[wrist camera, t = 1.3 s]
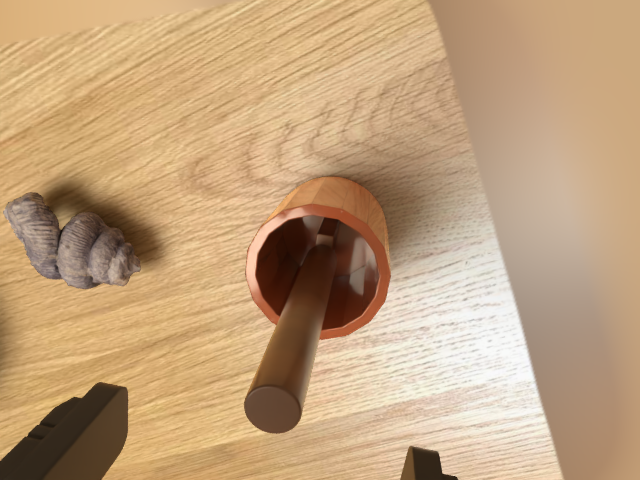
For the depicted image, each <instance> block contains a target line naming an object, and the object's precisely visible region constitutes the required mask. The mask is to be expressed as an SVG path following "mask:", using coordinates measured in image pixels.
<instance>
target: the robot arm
mask: <svg viewBox="0 0 640 480" xmlns="http://www.w3.org/2000/svg"><path fill="white" fill-rule="evenodd" d="M127 433H128V391H127V388H126V387H122V386H117V385H112V384H107V383H102V382H99V383H97V384H95V385H94V386H93V387H92V388H91V389H90V390H89V391H88V393H87V394H86V395H85V396H84V397H83V398H77V397H73V398H71V399H70V400H68V401H66V402H64V403H62V404H61V405H59V406H57V407H55V408H54V409H53V410H52V411H51V412H50V413H49V414H48V415H47V416H46V417H45V418H44V419H43V420H42V421H41V422H40V424H39V425H37V426H36V427H35V428H34V429H33V430H32V431H31V432H30V433H29V434H28V436H27V437H24V438H23V439H22V440H21V441H20V442H19V443H18V444H17V445H16V446H15V447H14V448H13V449H12V450H11V451H10V452H9V453H8V454H7V455H6V456H5V457H4V458H3V459H2V460H1V461H0V480H101V479H102V478H103V477H104V475H105V474H106V472H107V471H108V470H109V468H110V467H111V465H112V464H113V463H114V461H115V460H116V458H117V457H118V455H119V454H120V452H121V451H122V449H123V446H124V444H125V441H126V438H127ZM400 480H458V478H457V477H455V476H451V475H446V474H442V468H441V463H440V457H439V453H438V452H437V451H433V450H428V449H423V448H418V447H413V446H410V447H409V449H408V452H407V456H406V460H405V464H404V468H403V471H402V475H401V479H400Z"/></svg>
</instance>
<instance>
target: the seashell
mask: <svg viewBox="0 0 640 480" xmlns="http://www.w3.org/2000/svg"><path fill="white" fill-rule="evenodd" d="M3 212H4V215H5V217H6V219H8V220H9V223H10V224H11V228H12V229H13V230H14V233H15V235H16V236H17V237H18V238H19V240H20V241H21V242H22V243H23V244H24V247H25V250H26V251H27V254H26V255H27V256H28V257H29V259H30V261H31V265H32V266H34V267H35V269H36V270H37V272H38V273H40V274H41V275H42V276H44V277H46V278H49V279H63V280H65V281H66V282H67V284H68V286H73V287H76V288H81V289H90V288H93V287H95V286H98V285H100V284H102V283H105V284H109V285H118V286H125V285H126V284H127V283H128V281H129V278H130V276H131V275H132V274H133V273H134V272H140V270H141V267H140V260H139V259H138V257H137V256H135V254H134V248H133V246H132V245H131V244H130V243H125V242H124V240H125V239H124V235H123V233H122V231H121V230H120V229H118V228H110V227H108V226H107V225H105V223H104V221H103V220H102V219H101V218H100V217H99V216H98V215H97V214H94V213H93V212H86V213H79V214H77V215H76V216H74V217H72V218H71V220H70V221H69V222H68V223H67V224H66V225H65V226H64V227H63V229H62V230H60V229H59V223H58V219H57V218H56V216H55V215H54V214H53V212H52V211H51V210H49V207H48V206H46V205H45V204H44V202H43V197H42V196H41V195H39V194H38V193H32V192H30V193H26V194H25V195H23V196H22V197H20V198H18V199H15V200H14V201H12V202H8V204H7V206H6V208H5V210H4V211H3Z"/></svg>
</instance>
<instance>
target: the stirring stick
mask: <svg viewBox="0 0 640 480" xmlns="http://www.w3.org/2000/svg"><path fill="white" fill-rule="evenodd" d="M339 222H340V220H338V219H333V218H327V217H324V218H323V221H322V223H321V225H320V228H319V230H318V233H317V236H316V243H315V246H314V247H312V248H311V249H310V250H309V251H308V253H307V255H306V258H305V260H304V262H303V265H302V267H301V269H300V272H299V274H298V276H297V279H296V281H295V283H294V286H293V288H292V290H291V293H290V295H289V297H288V300H287V302H286V304H285V307H284V309H283V311H282V314H281V316H280V318H279V321H278V323H277V325H276V328H275V330H274V332H273V335H272V337H271V339H270V342H269V344H268V346H267V349H266V351H265V353H264V356H263V358H262V360H261V363H260V365H259V367H258V370H257V372H256V374H255V377H254V379H253V381H252V384H251V386H250V389H249V391H248V393H247V396H246V398H245V402H244V409H245V413H246V416H247V418H248V419H249V421H250V422H251V423H252V424H253V425H254V426H255V427H257V428H258V429H260V430H262V431H265V432H268V433H276V434H277V433H284V432H287V431H289V430H291V429H293V428H294V427H295V426H296V425H297V424H298V422H299V421H300V419H301V415H302V411H303V407H304V402H305V398H306V394H307V390H308V385H309V381H310V377H311V372H312V368H313V364H314V360H315V355H316V351H317V347H318V342H319V338H320V334H321V329H322V325H323V321H324V317H325V312H326V308H327V304H328V299H329V295H330V291H331V286H332V282H333V278H334V274H335V269H336V265H337V256H336V254H335V247H336V241H337V234H338V228H339Z"/></svg>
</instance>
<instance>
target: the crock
mask: <svg viewBox="0 0 640 480" xmlns="http://www.w3.org/2000/svg"><path fill="white" fill-rule="evenodd" d="M324 217H327V218H333V219H338V220H340V222H339V228H338V234H337V241H336V247H335V254H336V256H337V265H336V269H335V274H334V278H333V282H332V286H331V291H330V295H329V299H328V304H327V308H326V312H325V317H324V321H323V325H322V329H321V334H320V338H319V340H320V339H321V340H323V339H329V338H336V337H342V336H346V335H349V334H351V333H352V332H354V331H356V330H357V329H359V328H361V327H362V326H364V325H366V324H367V323H369V322H370V321H371V320H372V319H373V317H374V316H375V315H376V313H377V312H378V311H379V309H380V308H381V306H382V305H383V304H384V302H385V300H386V296H387V292H388V287H389V282H390V277H391V269H390V256H389V242H388V230H387V226H386V220H385V216H384V212H383V210H382V208H381V206H380V204H379V203H378V201H377V200H376V199H375V197H374V196H373V195H372V194H371V193H370V192H369V191H368V190H367V189H366V188H364V187H363V186H361V185H360V184H358V183H356V182H354V181H352V180H349V179H346V178H341V177H334V176H327V177H319V178H315V179H312V180H309V181H307V182H305V183H303V184H301V185H300V186H298V187H297V188H296V189H294V190H293V191H292V192H291V193H290V194H288V195H287V196H286V197H285V199H284V200H283V201H282V202H281V203H280V205H279V206H278V207H277V208H276V209H275V210H274V212H273V213H272V214H271V215H270V216H269V217H268V219H267V220H266V221H265V222H264V223H263V225H262V226H261V227H260V229H259V230H258V232H257V234H256V236H255V237H254V239H253V241H252V243H251V244H250V246H249V248H248V251H247V261H246V272H245V275H246V279H247V283H248V286H249V289H250V292H251V295H252V298H253V300H254V302H255V303H256V304H257V306H258V307H259V308H260V309H261V310H262V312H263V313H264V314H265V315H266V316H267V318H268V319H269V320H270V321H271V322H272V323H274V324H276V325H277V323H278V321H279V318H280V316H281V314H282V311H283V309H284V307H285V304H286V302H287V300H288V297H289V295H290V293H291V290H292V288H293V286H294V283H295V281H296V279H297V276H298V274H299V272H300V269H301V267H302V265H303V262H304V260H305V258H306V255H307V253H308V251H309V250H310V249H311V248H312V247H314V246H315V243H316V236H317V233H318V230H319V228H320V225H321V223H322V221H323V218H324Z"/></svg>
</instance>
